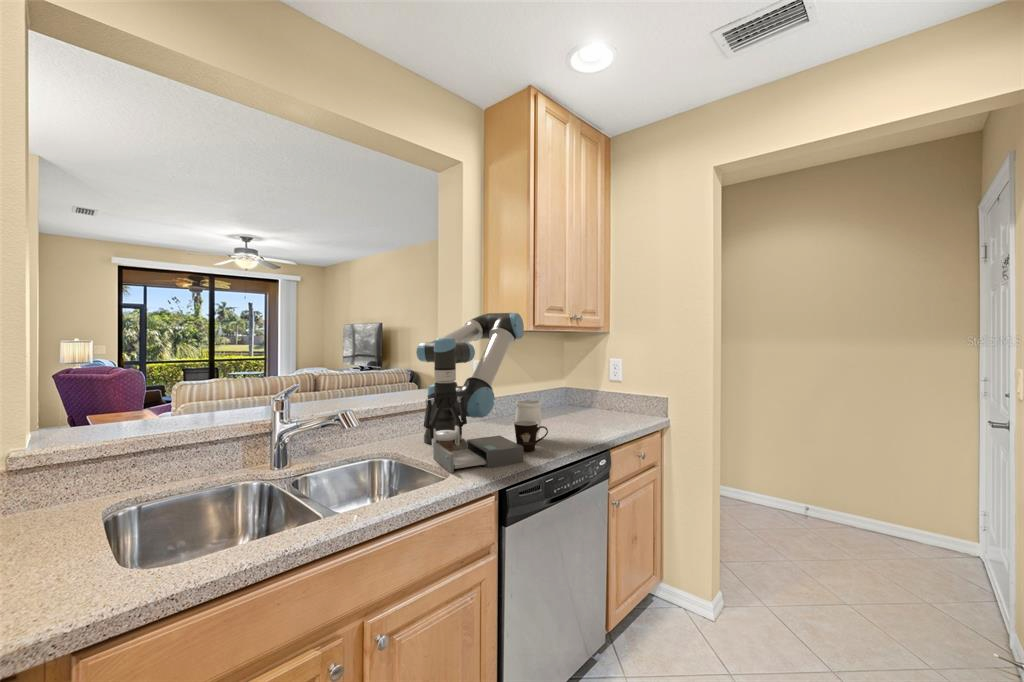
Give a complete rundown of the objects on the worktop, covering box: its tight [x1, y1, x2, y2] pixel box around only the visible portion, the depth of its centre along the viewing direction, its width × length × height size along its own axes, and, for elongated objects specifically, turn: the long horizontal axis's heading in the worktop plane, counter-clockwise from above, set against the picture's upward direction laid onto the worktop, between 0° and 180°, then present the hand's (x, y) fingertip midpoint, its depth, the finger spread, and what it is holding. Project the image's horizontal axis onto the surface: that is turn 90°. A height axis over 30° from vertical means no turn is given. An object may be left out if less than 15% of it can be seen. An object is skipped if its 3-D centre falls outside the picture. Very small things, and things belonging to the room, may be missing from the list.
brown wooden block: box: [439, 440, 454, 452], centre depth 158 cm, size 4×4×6 cm
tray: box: [432, 442, 486, 474], centre depth 149 cm, size 17×13×6 cm
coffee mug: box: [513, 421, 549, 453], centre depth 164 cm, size 12×9×10 cm
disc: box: [436, 430, 457, 441], centre depth 158 cm, size 8×8×2 cm
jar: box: [515, 400, 542, 441], centre depth 181 cm, size 11×10×15 cm
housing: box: [466, 434, 524, 468], centre depth 154 cm, size 18×13×5 cm
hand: (445, 445), depth 158 cm, fingers closed on disc, 8 cm apart
